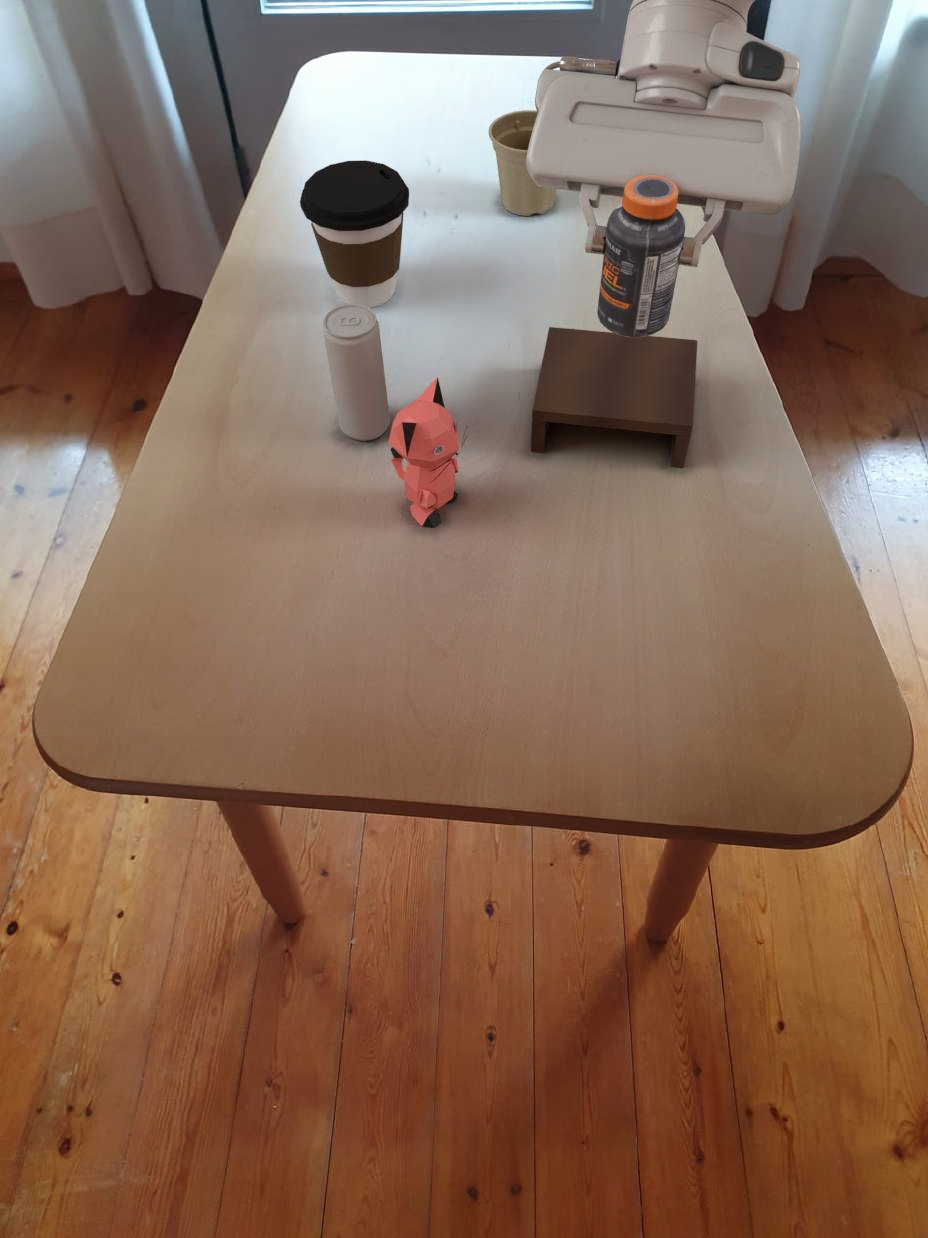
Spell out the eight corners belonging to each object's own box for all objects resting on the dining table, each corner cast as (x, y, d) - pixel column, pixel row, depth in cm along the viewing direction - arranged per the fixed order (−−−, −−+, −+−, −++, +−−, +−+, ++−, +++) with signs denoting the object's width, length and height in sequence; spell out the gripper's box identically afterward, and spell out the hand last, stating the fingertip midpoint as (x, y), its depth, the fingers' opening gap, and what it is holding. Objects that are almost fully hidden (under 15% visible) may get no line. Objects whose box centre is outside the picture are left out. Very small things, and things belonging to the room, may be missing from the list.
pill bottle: (584, 305, 79) (597, 175, 70) (648, 289, 80) (668, 158, 71) (616, 347, 76) (634, 216, 67) (681, 329, 77) (708, 198, 68)
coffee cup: (385, 251, 107) (374, 146, 97) (435, 299, 102) (429, 192, 92) (299, 284, 104) (279, 178, 94) (346, 335, 98) (330, 228, 89)
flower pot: (569, 183, 115) (574, 110, 108) (566, 226, 109) (571, 152, 102) (492, 180, 116) (492, 108, 109) (485, 223, 110) (484, 149, 103)
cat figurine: (444, 544, 81) (438, 439, 71) (375, 518, 83) (359, 413, 73) (481, 490, 85) (479, 384, 75) (413, 467, 86) (403, 360, 77)
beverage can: (388, 444, 88) (375, 337, 79) (337, 444, 89) (318, 337, 79) (392, 409, 91) (380, 302, 82) (342, 409, 91) (324, 302, 82)
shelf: (688, 382, 93) (697, 339, 89) (683, 467, 86) (693, 426, 82) (546, 368, 94) (549, 326, 90) (530, 451, 87) (532, 409, 83)
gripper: (537, 34, 69) (504, 230, 72) (823, 61, 66) (779, 266, 68) (547, 71, 76) (516, 250, 78) (809, 97, 72) (769, 284, 74)
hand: (641, 258), depth 73 cm, fingers closed on pill bottle, 6 cm apart
